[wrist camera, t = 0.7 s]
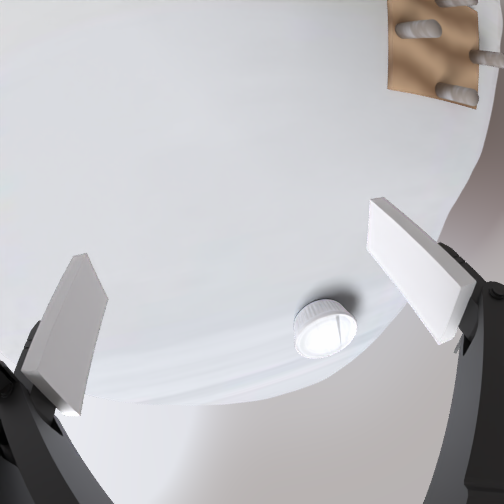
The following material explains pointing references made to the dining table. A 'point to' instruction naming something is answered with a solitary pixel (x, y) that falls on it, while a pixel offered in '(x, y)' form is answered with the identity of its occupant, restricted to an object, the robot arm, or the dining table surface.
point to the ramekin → (323, 329)
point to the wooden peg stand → (436, 50)
